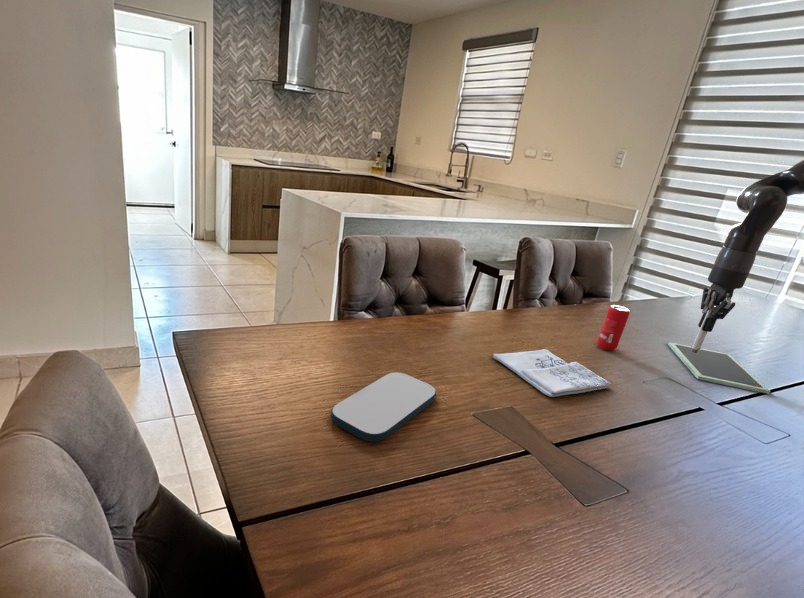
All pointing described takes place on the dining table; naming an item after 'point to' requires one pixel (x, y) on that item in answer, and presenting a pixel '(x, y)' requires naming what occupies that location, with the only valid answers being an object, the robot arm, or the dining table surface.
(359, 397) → the external hard drive
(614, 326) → the beverage can
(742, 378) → the tablet
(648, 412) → the dining table surface
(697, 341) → the stylus
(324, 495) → the dining table surface
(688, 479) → the dining table surface
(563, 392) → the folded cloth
